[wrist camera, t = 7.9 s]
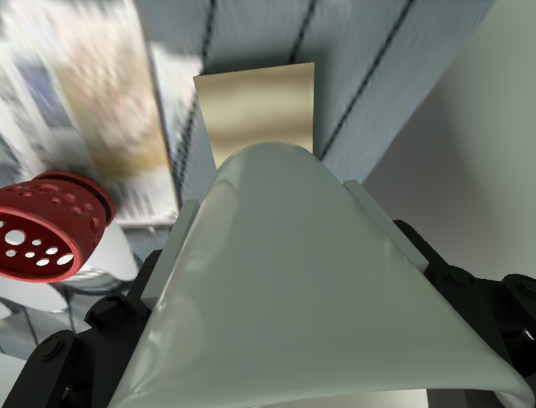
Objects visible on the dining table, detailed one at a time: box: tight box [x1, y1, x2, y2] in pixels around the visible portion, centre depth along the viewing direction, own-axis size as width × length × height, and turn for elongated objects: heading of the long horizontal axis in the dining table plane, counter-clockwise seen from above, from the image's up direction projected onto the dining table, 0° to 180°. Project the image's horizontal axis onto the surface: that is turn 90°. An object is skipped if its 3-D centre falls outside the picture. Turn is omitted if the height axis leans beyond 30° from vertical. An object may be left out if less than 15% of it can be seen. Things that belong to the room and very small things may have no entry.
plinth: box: [193, 62, 314, 170], centre depth 29 cm, size 14×14×3 cm
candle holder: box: [107, 140, 536, 408], centre depth 10 cm, size 10×10×12 cm
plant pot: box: [0, 171, 115, 283], centre depth 30 cm, size 13×13×12 cm
